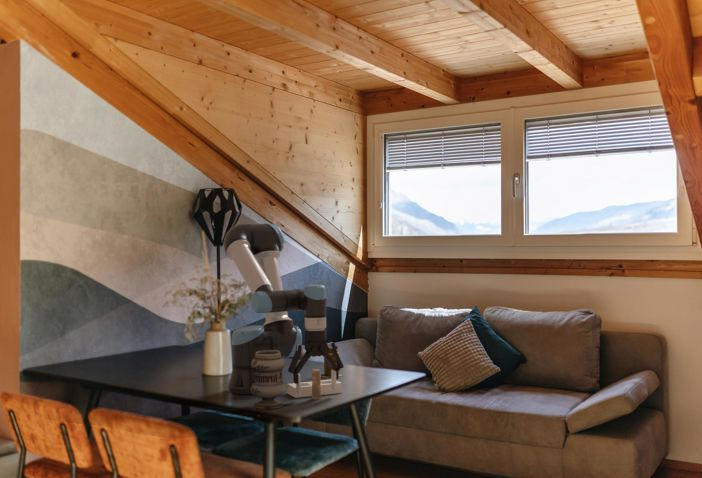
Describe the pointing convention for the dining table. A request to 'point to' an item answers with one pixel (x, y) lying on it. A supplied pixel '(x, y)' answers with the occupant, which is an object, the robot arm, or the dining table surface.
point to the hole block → (307, 388)
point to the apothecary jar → (268, 378)
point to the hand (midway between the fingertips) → (316, 391)
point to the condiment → (327, 366)
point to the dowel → (316, 384)
